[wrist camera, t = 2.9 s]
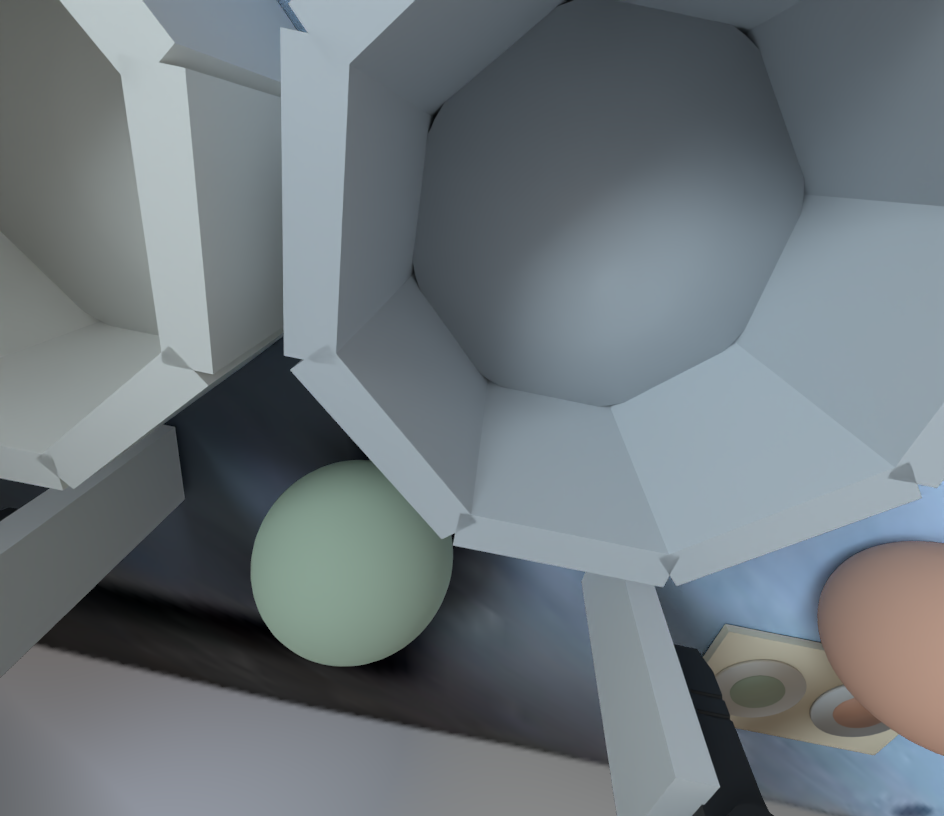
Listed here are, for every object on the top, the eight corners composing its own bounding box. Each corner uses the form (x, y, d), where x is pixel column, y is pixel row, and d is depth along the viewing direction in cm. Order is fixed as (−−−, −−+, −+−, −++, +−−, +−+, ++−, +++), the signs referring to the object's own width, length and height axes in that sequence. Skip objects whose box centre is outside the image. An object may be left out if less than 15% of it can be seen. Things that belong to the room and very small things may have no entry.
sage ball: (301, 539, 15) (214, 689, 11) (302, 410, 13) (192, 534, 9) (448, 568, 15) (421, 730, 11) (476, 444, 13) (455, 586, 9)
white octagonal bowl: (11, 319, 12) (-314, 415, 8) (-134, -163, 8) (-1083, -648, 3) (339, 385, 12) (226, 523, 8) (361, -57, 8) (145, -376, 3)
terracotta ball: (753, 607, 15) (853, 789, 11) (837, 486, 13) (1011, 656, 8) (902, 636, 15) (1062, 830, 11) (1013, 522, 13) (1279, 709, 8)
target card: (668, 707, 18) (672, 720, 17) (725, 623, 15) (730, 636, 15) (869, 746, 18) (877, 760, 17) (955, 669, 16) (967, 683, 15)
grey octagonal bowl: (376, 376, 12) (285, 512, 7) (419, -84, 8) (273, -466, 3) (704, 442, 12) (827, 620, 8) (915, 23, 8) (1503, -193, 3)
